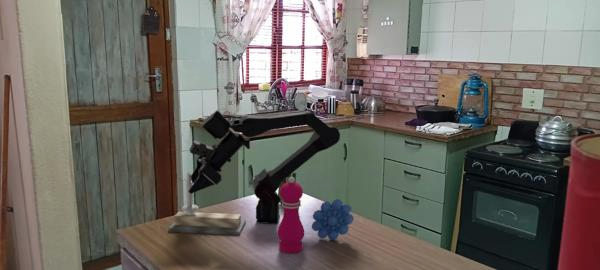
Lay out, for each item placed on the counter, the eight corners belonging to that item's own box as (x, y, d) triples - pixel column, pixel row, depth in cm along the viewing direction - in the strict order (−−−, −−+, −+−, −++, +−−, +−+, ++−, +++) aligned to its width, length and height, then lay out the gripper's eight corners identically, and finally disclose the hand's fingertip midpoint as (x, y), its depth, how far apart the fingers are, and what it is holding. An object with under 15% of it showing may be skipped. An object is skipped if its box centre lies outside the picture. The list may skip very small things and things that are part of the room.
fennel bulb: (297, 204, 159) (297, 171, 156) (288, 208, 155) (288, 174, 153) (284, 201, 162) (284, 168, 160) (275, 204, 158) (275, 171, 156)
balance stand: (245, 223, 141) (245, 211, 141) (239, 234, 132) (239, 222, 132) (178, 220, 143) (178, 208, 142) (168, 231, 134) (168, 219, 133)
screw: (186, 210, 140) (201, 212, 139) (178, 216, 136) (194, 218, 134) (185, 169, 138) (200, 170, 137) (177, 173, 133) (192, 175, 132)
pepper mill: (301, 255, 120) (302, 181, 116) (274, 253, 121) (274, 179, 117) (306, 244, 127) (307, 174, 123) (280, 241, 128) (281, 172, 124)
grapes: (352, 234, 134) (353, 195, 132) (353, 244, 127) (354, 203, 125) (312, 232, 135) (313, 193, 132) (310, 242, 128) (311, 201, 126)
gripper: (203, 126, 143) (168, 162, 142) (208, 137, 125) (167, 179, 124) (229, 149, 146) (195, 185, 146) (237, 163, 129) (198, 204, 128)
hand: (189, 187), depth 136 cm, fingers open, 9 cm apart
